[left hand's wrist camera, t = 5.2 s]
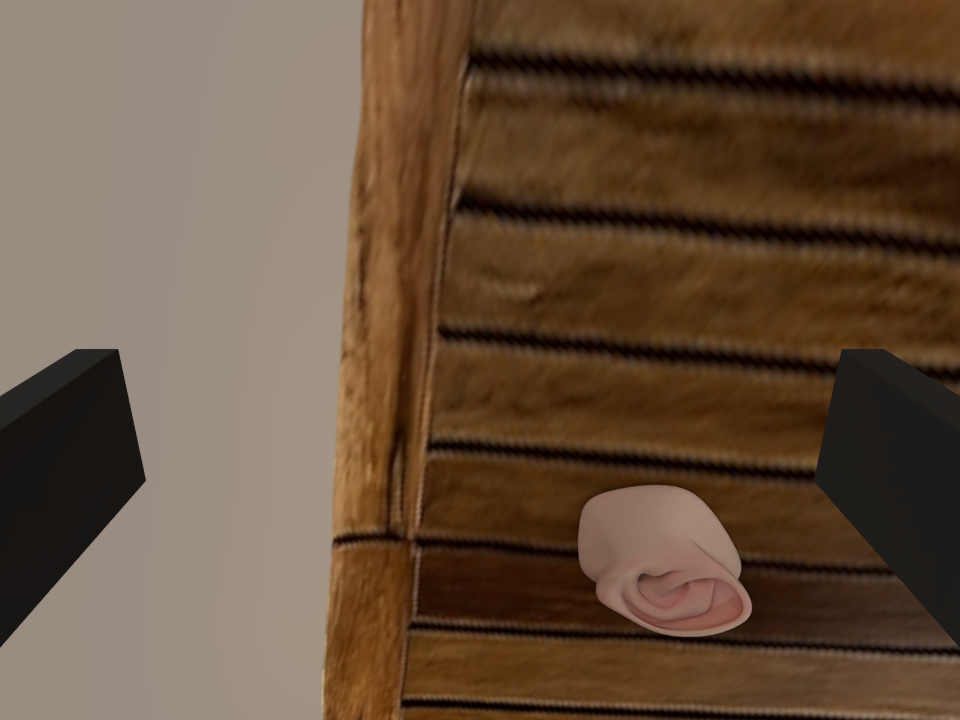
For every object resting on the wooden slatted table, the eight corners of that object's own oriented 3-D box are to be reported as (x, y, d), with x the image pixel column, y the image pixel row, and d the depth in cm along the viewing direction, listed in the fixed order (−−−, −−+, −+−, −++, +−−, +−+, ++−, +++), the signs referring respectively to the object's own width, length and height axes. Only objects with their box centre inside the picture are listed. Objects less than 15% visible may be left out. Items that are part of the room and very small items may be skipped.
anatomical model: (559, 543, 47) (716, 483, 45) (553, 511, 51) (698, 454, 49) (625, 674, 51) (771, 624, 49) (615, 635, 55) (750, 587, 53)
